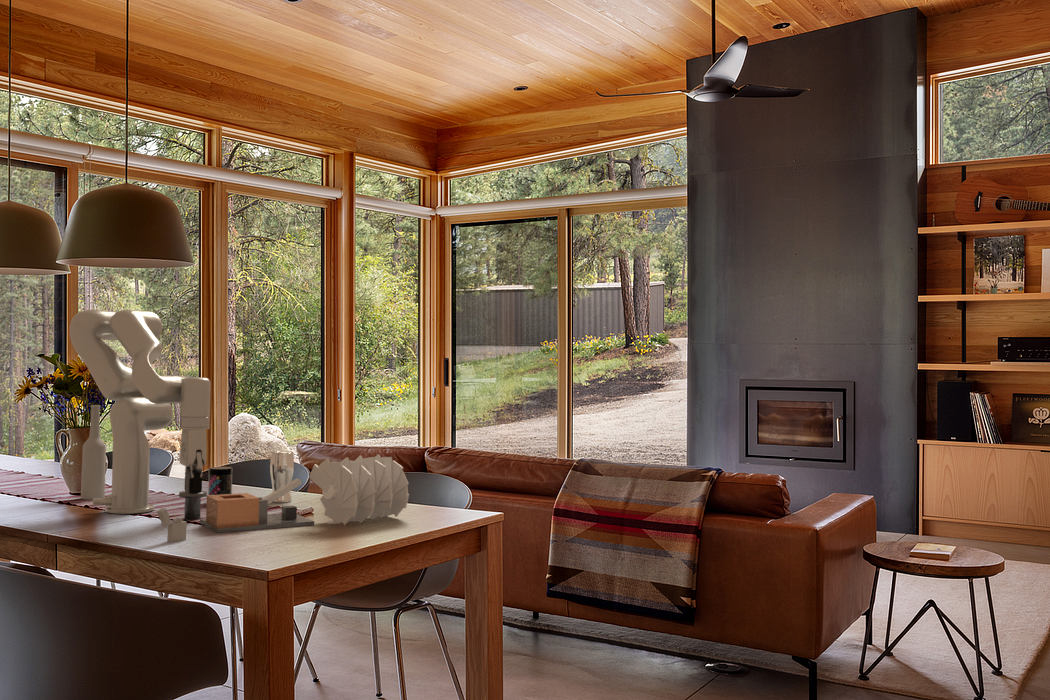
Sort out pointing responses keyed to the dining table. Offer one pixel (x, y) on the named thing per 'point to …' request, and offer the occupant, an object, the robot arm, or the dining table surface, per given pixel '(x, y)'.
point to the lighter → (173, 526)
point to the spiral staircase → (361, 488)
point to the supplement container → (220, 480)
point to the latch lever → (283, 490)
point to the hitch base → (262, 525)
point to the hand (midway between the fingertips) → (193, 491)
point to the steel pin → (191, 500)
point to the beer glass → (281, 472)
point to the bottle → (93, 460)
